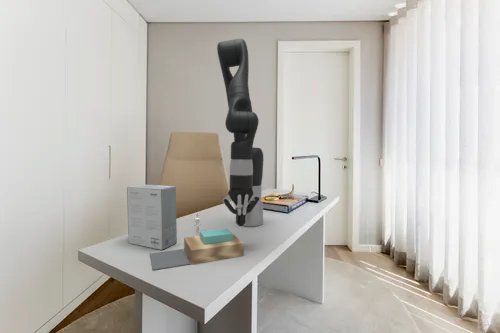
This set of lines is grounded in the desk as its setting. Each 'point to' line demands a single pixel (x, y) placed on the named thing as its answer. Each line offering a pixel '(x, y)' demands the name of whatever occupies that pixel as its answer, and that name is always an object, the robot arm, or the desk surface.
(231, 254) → the tan wooden flat box
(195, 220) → the chess piece
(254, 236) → the desk surface
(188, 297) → the desk surface
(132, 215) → the hard drive box
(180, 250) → the mat
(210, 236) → the block
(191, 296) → the desk surface
